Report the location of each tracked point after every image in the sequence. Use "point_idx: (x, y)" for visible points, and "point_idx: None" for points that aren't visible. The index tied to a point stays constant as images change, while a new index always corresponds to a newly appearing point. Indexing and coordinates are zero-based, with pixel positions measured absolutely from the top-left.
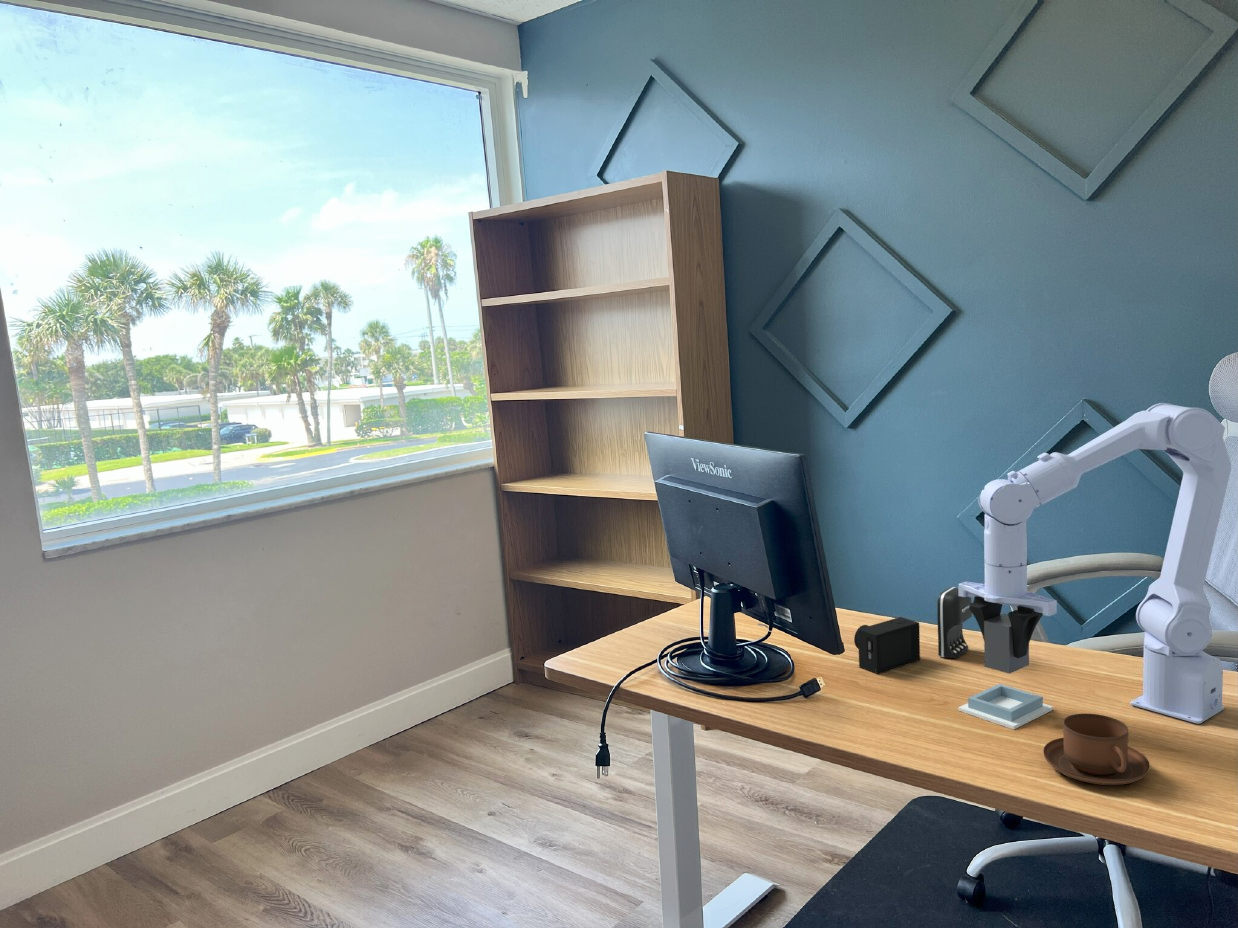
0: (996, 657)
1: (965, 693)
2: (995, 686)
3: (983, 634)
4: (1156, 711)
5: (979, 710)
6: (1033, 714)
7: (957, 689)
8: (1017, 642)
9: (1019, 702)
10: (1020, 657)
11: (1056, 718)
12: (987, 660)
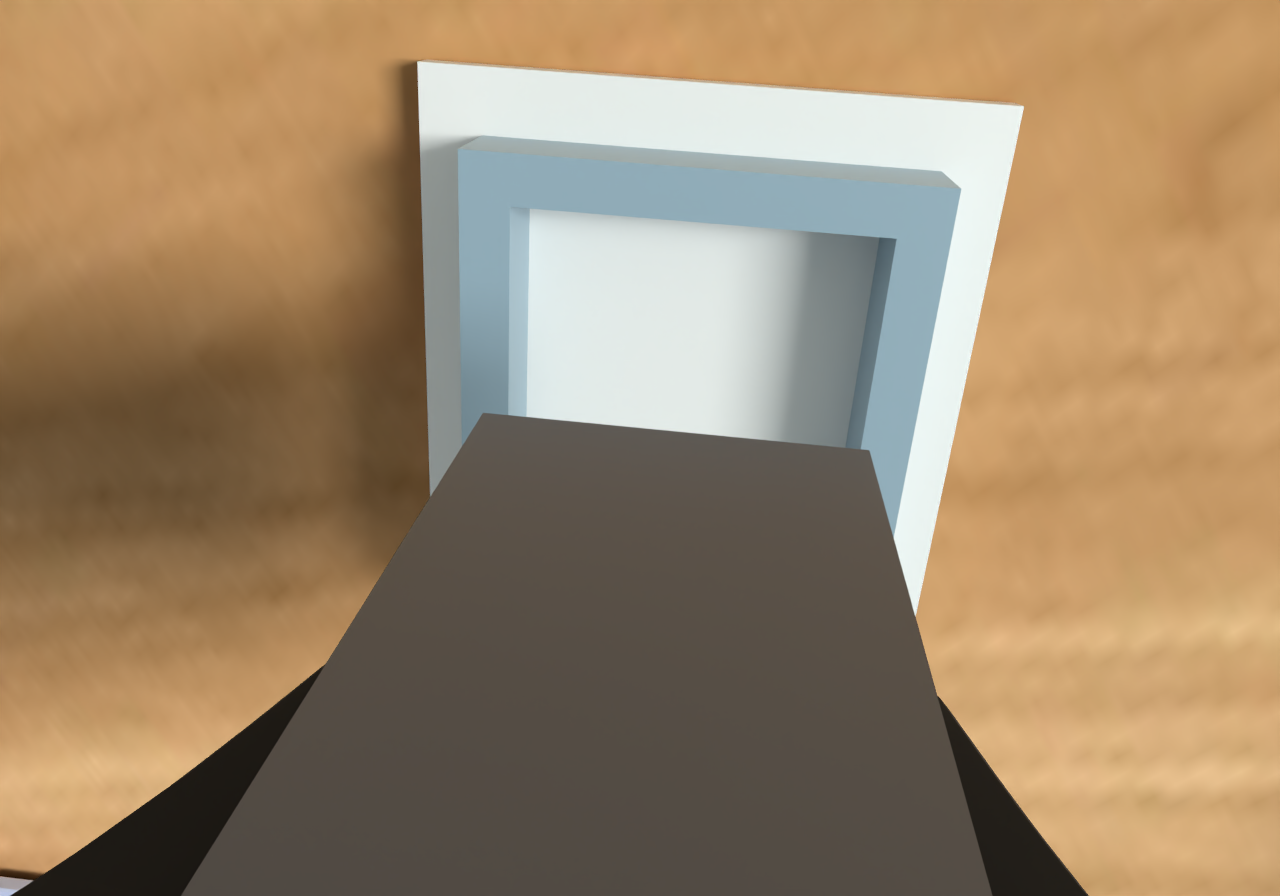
0: (665, 522)
1: (1117, 492)
2: None
3: (1037, 873)
4: (22, 881)
5: (816, 162)
6: (448, 400)
7: (1213, 526)
8: (193, 785)
9: None
10: None
11: (338, 482)
12: (828, 492)
